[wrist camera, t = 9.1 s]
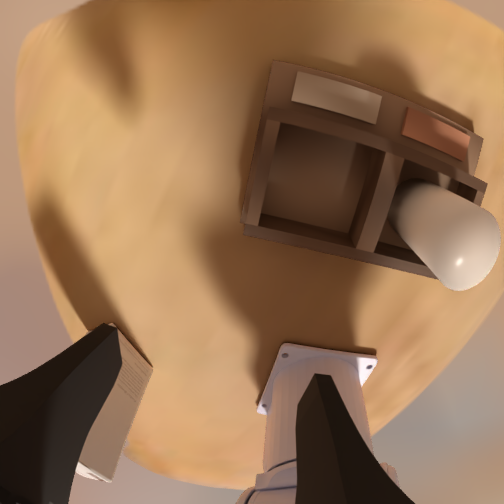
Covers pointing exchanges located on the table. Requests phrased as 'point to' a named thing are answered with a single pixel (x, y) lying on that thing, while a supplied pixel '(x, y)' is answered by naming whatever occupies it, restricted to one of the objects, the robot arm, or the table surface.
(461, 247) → the plug
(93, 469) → the skincare box
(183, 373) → the table surface
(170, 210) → the table surface
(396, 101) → the socket board
